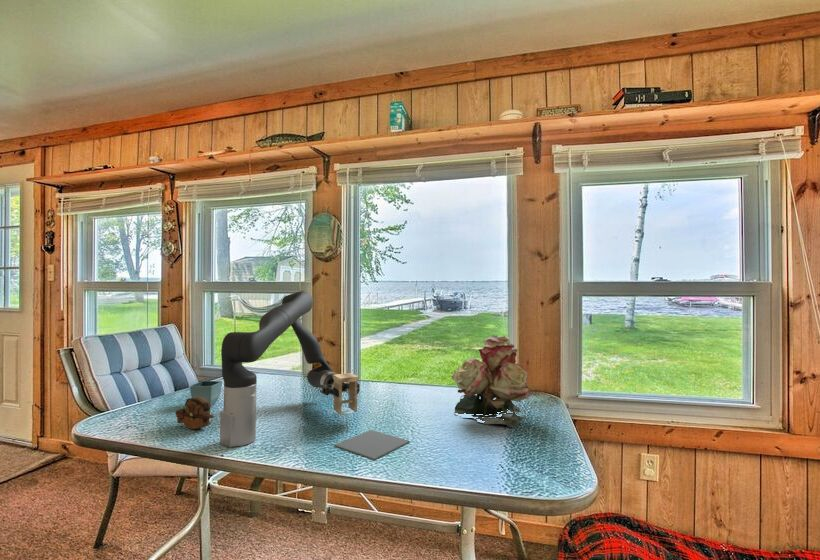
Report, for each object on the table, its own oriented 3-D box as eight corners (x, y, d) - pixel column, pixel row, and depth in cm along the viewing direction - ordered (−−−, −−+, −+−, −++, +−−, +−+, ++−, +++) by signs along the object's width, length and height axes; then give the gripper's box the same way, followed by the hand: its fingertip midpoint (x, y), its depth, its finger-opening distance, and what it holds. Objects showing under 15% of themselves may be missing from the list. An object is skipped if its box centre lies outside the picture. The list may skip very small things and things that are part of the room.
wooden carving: (169, 427, 131) (170, 397, 131) (182, 423, 135) (182, 394, 135) (206, 433, 125) (207, 402, 125) (218, 429, 129) (218, 398, 130)
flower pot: (211, 409, 151) (211, 386, 152) (188, 408, 151) (189, 385, 152) (222, 402, 160) (222, 380, 160) (201, 402, 160) (201, 380, 161)
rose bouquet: (444, 417, 142) (444, 335, 143) (486, 401, 164) (485, 330, 165) (508, 435, 125) (507, 341, 126) (545, 414, 146) (544, 334, 147)
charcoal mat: (374, 460, 106) (374, 458, 106) (334, 446, 115) (334, 444, 115) (409, 442, 118) (409, 440, 118) (370, 430, 128) (370, 429, 128)
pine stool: (339, 414, 130) (339, 378, 131) (332, 409, 136) (333, 374, 137) (358, 411, 133) (358, 376, 134) (350, 406, 140) (351, 373, 140)
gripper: (314, 374, 144) (327, 383, 130) (350, 371, 151) (367, 379, 137) (313, 395, 144) (327, 406, 129) (350, 390, 151) (367, 401, 137)
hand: (347, 392), depth 133 cm, fingers closed on pine stool, 6 cm apart
